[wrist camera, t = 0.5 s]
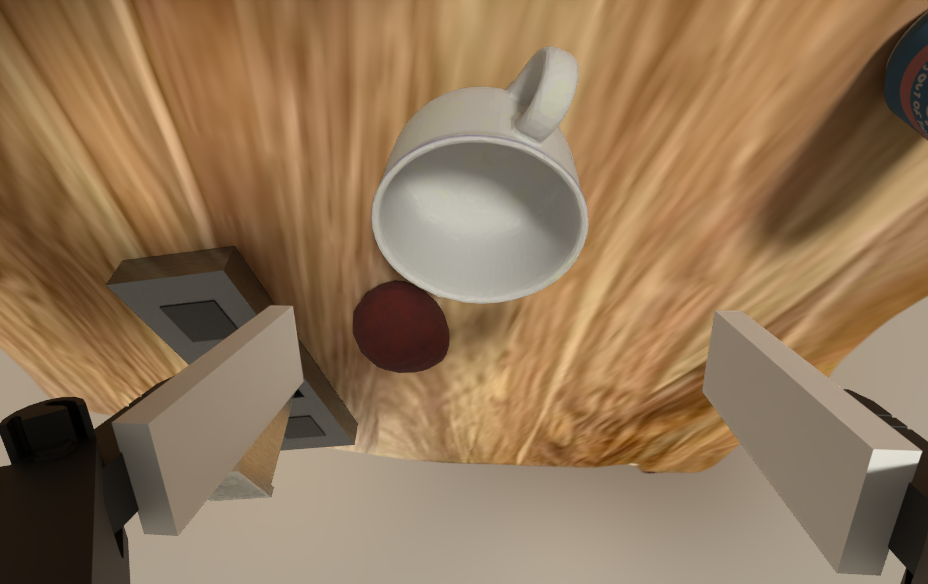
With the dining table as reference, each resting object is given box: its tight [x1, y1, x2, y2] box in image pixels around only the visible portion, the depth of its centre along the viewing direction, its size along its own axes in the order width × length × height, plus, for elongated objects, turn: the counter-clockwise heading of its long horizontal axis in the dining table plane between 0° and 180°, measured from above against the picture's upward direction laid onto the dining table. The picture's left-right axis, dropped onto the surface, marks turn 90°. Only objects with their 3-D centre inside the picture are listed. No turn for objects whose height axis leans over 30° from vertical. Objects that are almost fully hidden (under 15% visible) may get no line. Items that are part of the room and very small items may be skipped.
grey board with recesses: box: [106, 246, 358, 450], centre depth 45 cm, size 28×9×3 cm, turn 9°
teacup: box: [372, 46, 588, 304], centre depth 26 cm, size 14×11×8 cm
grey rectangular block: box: [208, 391, 296, 501], centre depth 42 cm, size 5×5×12 cm
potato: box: [353, 281, 450, 373], centre depth 38 cm, size 7×8×6 cm
